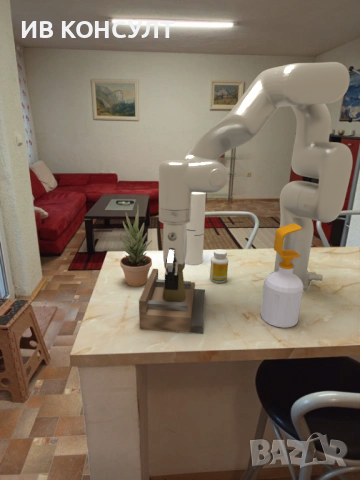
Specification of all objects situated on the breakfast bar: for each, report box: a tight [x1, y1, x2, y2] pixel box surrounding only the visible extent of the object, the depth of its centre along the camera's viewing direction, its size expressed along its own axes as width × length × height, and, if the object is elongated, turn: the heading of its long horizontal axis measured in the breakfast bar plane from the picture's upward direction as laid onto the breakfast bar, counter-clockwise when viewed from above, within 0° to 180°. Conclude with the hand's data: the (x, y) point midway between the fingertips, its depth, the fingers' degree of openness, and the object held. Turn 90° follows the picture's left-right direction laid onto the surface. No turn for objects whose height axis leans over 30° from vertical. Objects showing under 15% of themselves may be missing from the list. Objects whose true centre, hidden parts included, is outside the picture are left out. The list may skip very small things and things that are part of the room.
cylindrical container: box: [185, 192, 207, 266], centre depth 110 cm, size 7×7×25 cm
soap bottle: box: [260, 223, 304, 328], centre depth 76 cm, size 9×9×25 cm
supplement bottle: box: [209, 249, 229, 284], centre depth 99 cm, size 5×5×10 cm
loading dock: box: [138, 268, 206, 335], centre depth 81 cm, size 15×18×8 cm
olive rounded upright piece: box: [162, 260, 186, 302], centre depth 80 cm, size 6×6×11 cm
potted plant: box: [119, 205, 153, 287], centre depth 94 cm, size 10×10×25 cm
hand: (173, 280), depth 80 cm, fingers open, 9 cm apart
